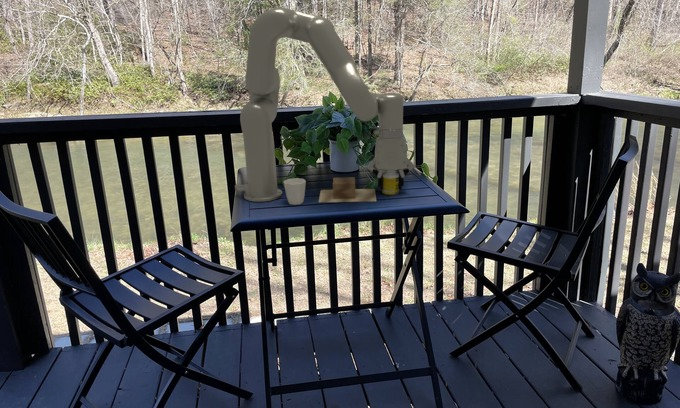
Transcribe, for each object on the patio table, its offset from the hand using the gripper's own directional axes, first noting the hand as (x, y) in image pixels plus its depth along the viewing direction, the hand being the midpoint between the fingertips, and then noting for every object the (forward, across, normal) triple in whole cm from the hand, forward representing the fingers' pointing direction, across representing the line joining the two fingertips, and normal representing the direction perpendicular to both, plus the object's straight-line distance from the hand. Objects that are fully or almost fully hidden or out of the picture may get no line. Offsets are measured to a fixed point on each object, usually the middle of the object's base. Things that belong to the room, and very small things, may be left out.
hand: (390, 188), depth 171 cm
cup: (+3, -30, -7) cm, 31 cm away
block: (+1, -15, -2) cm, 15 cm away
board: (+2, -14, -2) cm, 14 cm away
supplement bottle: (+3, 0, 0) cm, 3 cm away
